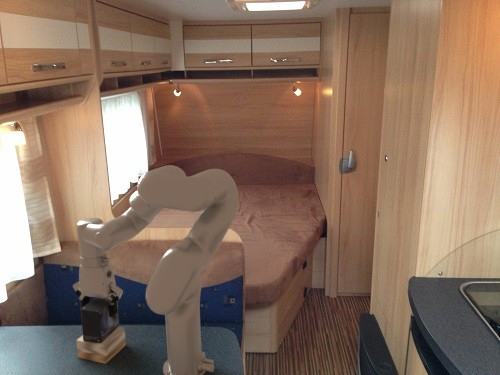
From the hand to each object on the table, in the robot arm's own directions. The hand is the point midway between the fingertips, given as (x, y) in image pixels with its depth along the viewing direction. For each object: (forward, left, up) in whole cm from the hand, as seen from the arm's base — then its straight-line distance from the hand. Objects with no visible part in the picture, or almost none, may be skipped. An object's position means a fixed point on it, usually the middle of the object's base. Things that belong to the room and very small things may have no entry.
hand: (100, 312), depth 132 cm
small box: (0, 0, -7) cm, 7 cm away
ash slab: (0, +1, -10) cm, 10 cm away
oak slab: (0, +1, -14) cm, 14 cm away
